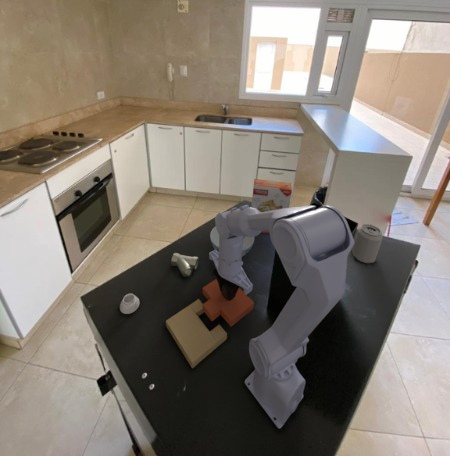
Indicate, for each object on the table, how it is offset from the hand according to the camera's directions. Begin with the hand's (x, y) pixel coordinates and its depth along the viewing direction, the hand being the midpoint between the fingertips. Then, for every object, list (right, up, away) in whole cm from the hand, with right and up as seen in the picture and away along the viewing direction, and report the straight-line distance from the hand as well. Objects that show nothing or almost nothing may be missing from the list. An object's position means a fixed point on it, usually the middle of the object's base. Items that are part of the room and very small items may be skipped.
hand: (227, 294), depth 67 cm
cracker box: (+16, +7, +35) cm, 39 cm away
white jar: (-27, -4, +2) cm, 27 cm away
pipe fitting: (-14, 0, +14) cm, 20 cm away
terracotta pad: (-1, -3, 0) cm, 3 cm away
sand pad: (-8, -7, -4) cm, 12 cm away
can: (+48, +1, +23) cm, 53 cm away
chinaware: (+1, +2, +22) cm, 22 cm away
